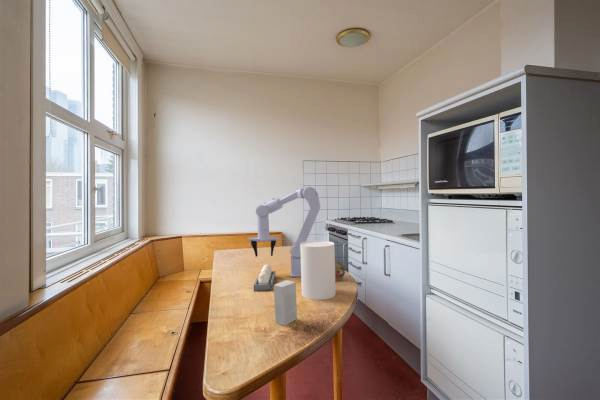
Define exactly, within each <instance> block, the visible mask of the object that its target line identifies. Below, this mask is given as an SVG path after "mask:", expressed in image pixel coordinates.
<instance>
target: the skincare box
mask: <svg viewBox="0 0 600 400" xmlns="http://www.w3.org/2000/svg"><path fill="white" fill-rule="evenodd" d="M296 285H297V284H296V281H291V280H289V279H288V280H287V279H286V280H283V281H281V282H278V283H276V284H273V297H274V300H273V301H274V320H275V321H274V322H275V324H279V325H281V326H287V325H289V324H291V323H292V322H294V321H296V320H297V319H298V312H297V311H298V308H297V288H296V287H297V286H296Z"/></svg>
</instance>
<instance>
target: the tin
mask: <svg viewBox="0 0 600 400" xmlns="http://www.w3.org/2000/svg"><path fill="white" fill-rule="evenodd" d="M345 273H346V270H345V267H344V265H343V264H342V263H341V262H338V261H335V282H339V281H341V280H342V279H343V278H344V277H345V275H346V274H345Z"/></svg>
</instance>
